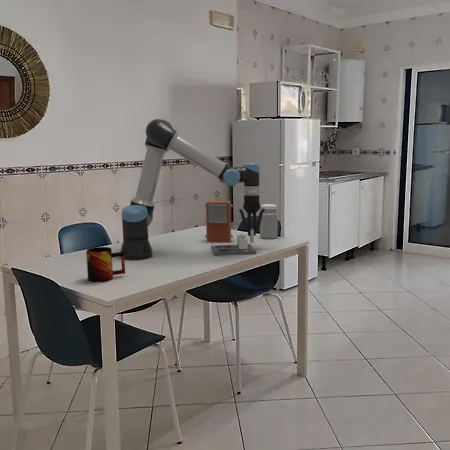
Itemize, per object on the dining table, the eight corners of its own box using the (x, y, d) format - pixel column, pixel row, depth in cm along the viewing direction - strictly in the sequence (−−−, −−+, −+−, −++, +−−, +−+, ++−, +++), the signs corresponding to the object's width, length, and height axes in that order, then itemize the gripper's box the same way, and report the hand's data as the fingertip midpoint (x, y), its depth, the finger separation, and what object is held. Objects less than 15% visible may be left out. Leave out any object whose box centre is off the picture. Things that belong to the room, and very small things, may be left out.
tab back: (238, 246, 254) (238, 235, 253) (237, 244, 258) (237, 234, 257) (246, 245, 255) (246, 235, 254) (245, 244, 258) (245, 234, 257)
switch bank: (214, 255, 243) (214, 251, 243) (210, 248, 259) (210, 244, 258) (256, 254, 245) (256, 249, 245) (250, 247, 261) (250, 243, 261)
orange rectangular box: (205, 240, 280) (233, 240, 279) (203, 242, 273) (232, 242, 272) (204, 200, 276) (233, 200, 275) (203, 202, 270) (231, 202, 268)
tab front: (239, 249, 246) (239, 239, 245) (238, 247, 250) (238, 237, 249) (247, 249, 247) (247, 238, 246) (246, 247, 250) (246, 237, 249)
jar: (257, 236, 287) (257, 204, 284) (273, 235, 290) (273, 203, 287) (263, 240, 278) (263, 206, 275) (280, 238, 281) (280, 205, 278)
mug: (126, 276, 209) (124, 246, 207) (98, 284, 199) (97, 253, 197) (110, 272, 215) (108, 244, 213) (82, 280, 204) (81, 250, 202)
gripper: (239, 195, 248) (239, 244, 252) (266, 195, 250) (266, 243, 254) (237, 194, 255) (237, 241, 259) (263, 193, 257) (263, 240, 261)
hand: (251, 242), depth 257 cm, fingers closed
